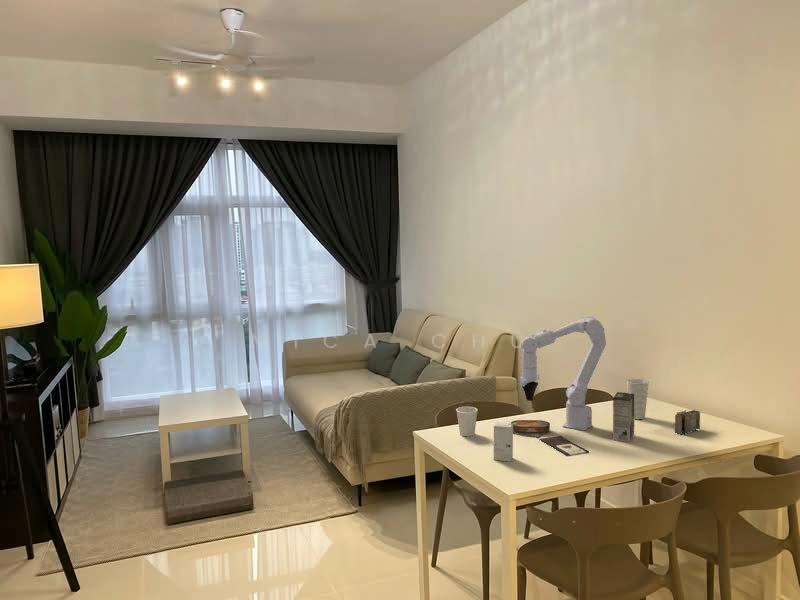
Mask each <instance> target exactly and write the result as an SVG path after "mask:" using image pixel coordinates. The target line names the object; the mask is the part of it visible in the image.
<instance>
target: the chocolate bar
mask: <svg viewBox="0 0 800 600" xmlns="http://www.w3.org/2000/svg"><path fill="white" fill-rule="evenodd" d="M540 440H541V441H540ZM539 441H540V442H542V443H543V442H544V444H545V443H546V444H545V445H546V446H549V447H550V446H551V447H550V448H552V447H553V448H552V449H554V450H555V449H556V450H555V451H557V452H559V453H560V452H561V454H562V455H565V457H569V456H575V455H582V453H583V454H589V453H590V451H589V450H588V449H587V448H584V447H582V446H580V445H578V444H577V443H575V442H573V441H571V440H569V439H567V438H565V437H563V436H562V435H558V436H557V435H556V436H550V437H542V438H539Z"/></svg>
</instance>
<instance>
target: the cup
mask: <svg viewBox="0 0 800 600" xmlns="http://www.w3.org/2000/svg"><path fill="white" fill-rule="evenodd" d="M626 388H627V389H626V391H627V392H626V393H629V394H634V420H635V419H643V420H645V419H646V412H647V411H646V410H647V401H648V390H649V381H648V380H647V379H642V378H630V379H629V378H628V379H626Z"/></svg>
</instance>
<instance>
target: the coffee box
mask: <svg viewBox="0 0 800 600" xmlns="http://www.w3.org/2000/svg"><path fill="white" fill-rule="evenodd" d="M612 402H613V405H612V408H613V409H612V412H613V413H612V414H613V415H612V440H613V441H618V440H619V441H618V442H625V441H627V442H626V443H631V442H632V440H633V438H634V436H635V419H634V394H629V393H628V392H621V391H618V392H616V393H615V395H614V396H613V399H612Z"/></svg>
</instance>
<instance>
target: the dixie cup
mask: <svg viewBox="0 0 800 600" xmlns="http://www.w3.org/2000/svg"><path fill="white" fill-rule="evenodd" d="M455 411H456V415H457V422H458V423H457V424H458V429H459V435H460V436H461V435H462V436H461V437H464V436H471V437H474V436H475V434H476V426H477V416H478V408H476V407H473V406H460V407H458V408H456V409H455Z"/></svg>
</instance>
